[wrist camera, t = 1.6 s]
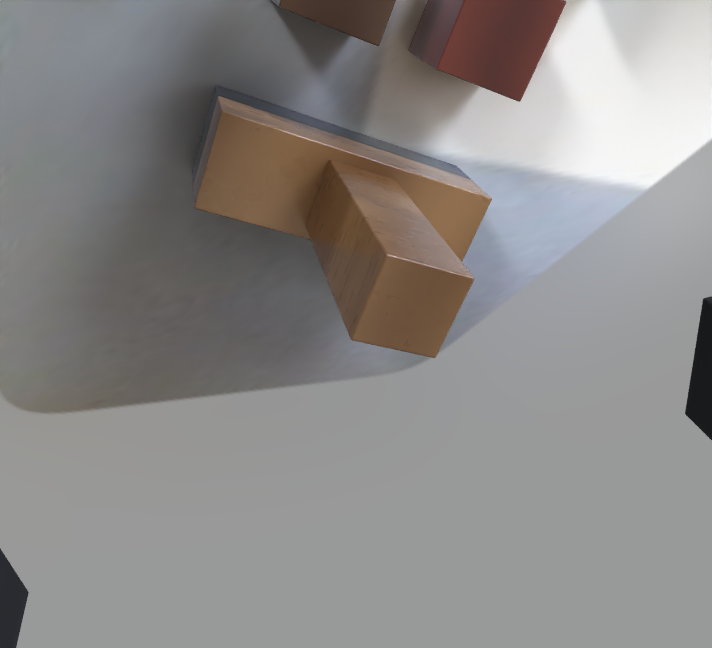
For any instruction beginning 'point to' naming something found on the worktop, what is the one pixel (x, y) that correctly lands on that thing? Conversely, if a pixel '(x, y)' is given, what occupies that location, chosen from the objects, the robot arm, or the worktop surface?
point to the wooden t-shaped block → (348, 214)
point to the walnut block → (345, 15)
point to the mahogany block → (487, 40)
